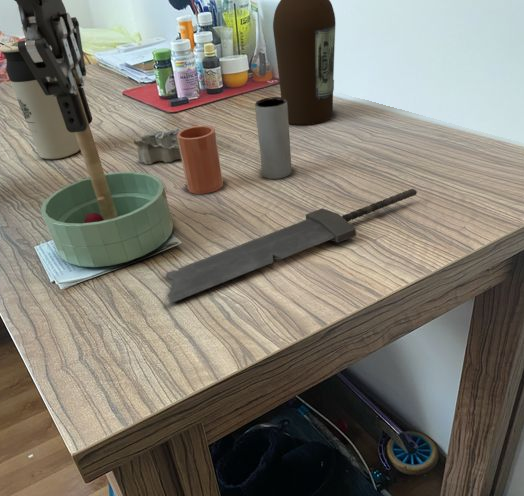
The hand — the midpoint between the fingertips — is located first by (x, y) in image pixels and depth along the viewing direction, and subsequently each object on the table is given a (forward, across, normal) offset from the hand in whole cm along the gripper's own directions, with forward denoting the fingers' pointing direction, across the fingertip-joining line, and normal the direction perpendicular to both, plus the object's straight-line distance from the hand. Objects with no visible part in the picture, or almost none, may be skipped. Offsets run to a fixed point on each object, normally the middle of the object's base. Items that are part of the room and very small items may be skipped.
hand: (80, 126), depth 58 cm
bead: (+13, -2, -3) cm, 13 cm away
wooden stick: (+13, 0, 0) cm, 13 cm away
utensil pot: (+14, -14, +11) cm, 23 cm away
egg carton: (+15, -29, +4) cm, 33 cm away
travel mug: (+15, -37, -18) cm, 44 cm away
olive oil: (+15, -41, +29) cm, 52 cm away
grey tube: (+15, -16, +22) cm, 31 cm away
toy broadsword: (+15, +6, +24) cm, 28 cm away
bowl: (+14, 0, 0) cm, 14 cm away
